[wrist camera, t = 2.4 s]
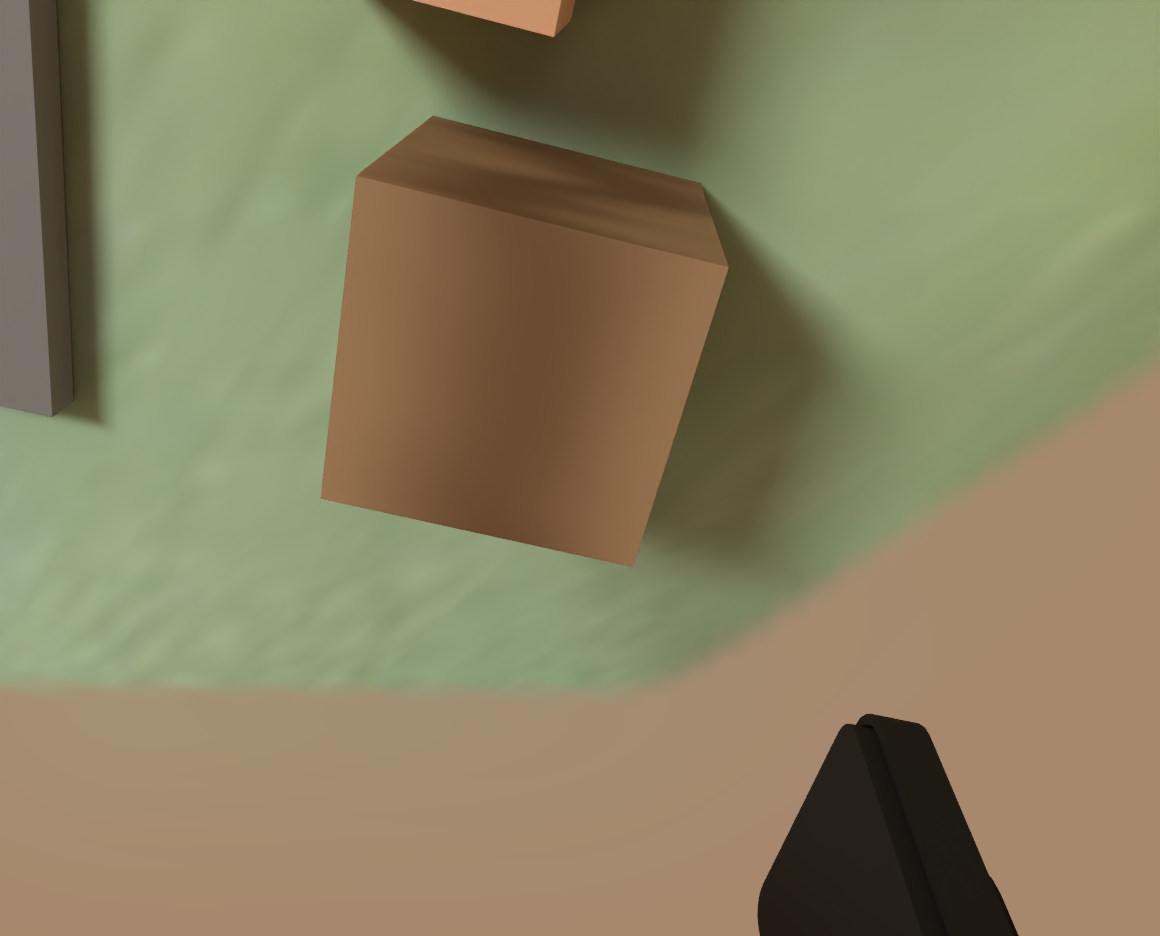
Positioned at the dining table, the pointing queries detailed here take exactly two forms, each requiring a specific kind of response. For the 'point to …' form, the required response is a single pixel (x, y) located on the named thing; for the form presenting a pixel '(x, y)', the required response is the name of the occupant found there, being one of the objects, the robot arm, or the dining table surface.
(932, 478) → the dining table surface
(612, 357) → the walnut cube
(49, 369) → the board
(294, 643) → the dining table surface
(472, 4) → the terracotta block
